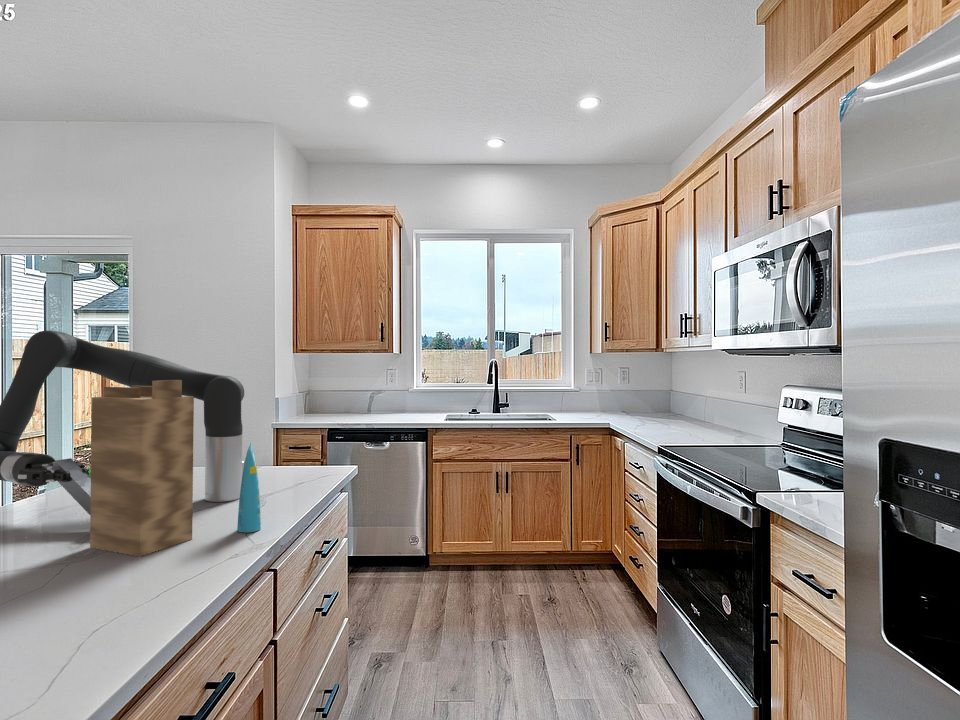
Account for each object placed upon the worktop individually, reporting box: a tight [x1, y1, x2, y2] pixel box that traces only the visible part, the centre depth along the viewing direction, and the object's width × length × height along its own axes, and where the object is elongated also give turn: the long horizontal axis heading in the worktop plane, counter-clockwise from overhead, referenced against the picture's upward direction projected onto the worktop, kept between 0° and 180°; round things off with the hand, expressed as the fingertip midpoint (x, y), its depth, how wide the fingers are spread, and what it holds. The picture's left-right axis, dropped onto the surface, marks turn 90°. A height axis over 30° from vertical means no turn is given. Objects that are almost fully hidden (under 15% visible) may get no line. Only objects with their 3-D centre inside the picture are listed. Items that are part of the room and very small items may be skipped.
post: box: [89, 380, 195, 557], centre depth 119 cm, size 12×14×34 cm
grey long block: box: [52, 458, 91, 516], centre depth 129 cm, size 6×21×4 cm
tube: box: [236, 441, 262, 533], centre depth 129 cm, size 7×5×19 cm, turn 26°
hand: (77, 475), depth 130 cm, fingers closed on grey long block, 3 cm apart
